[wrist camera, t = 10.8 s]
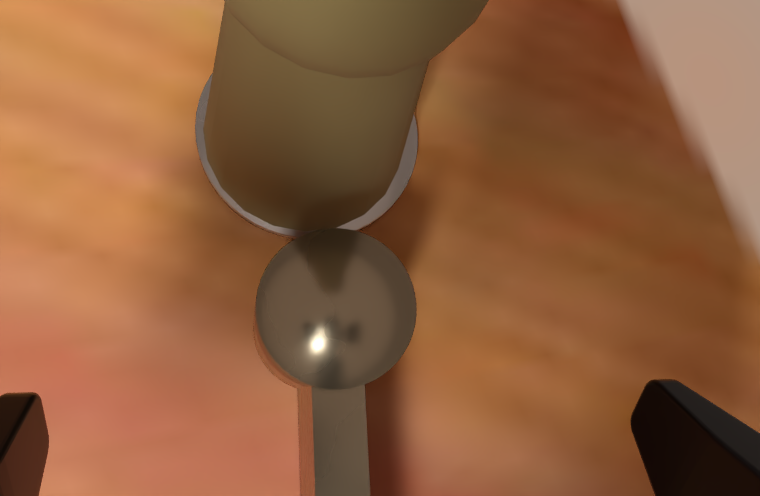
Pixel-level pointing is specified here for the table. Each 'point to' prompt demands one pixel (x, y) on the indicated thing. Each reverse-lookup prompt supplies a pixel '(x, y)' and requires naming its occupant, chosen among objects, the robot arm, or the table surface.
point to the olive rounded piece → (320, 101)
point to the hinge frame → (331, 327)
